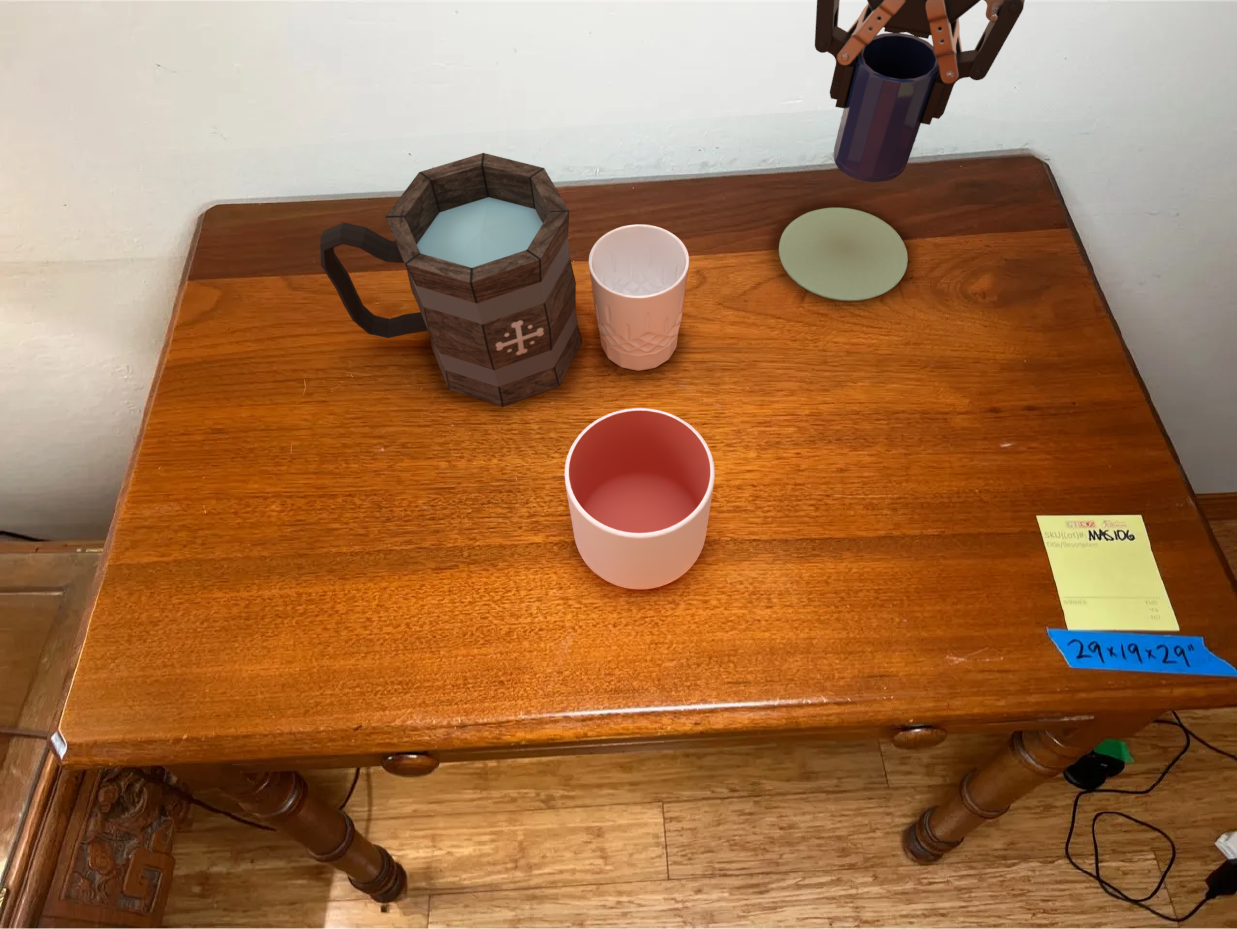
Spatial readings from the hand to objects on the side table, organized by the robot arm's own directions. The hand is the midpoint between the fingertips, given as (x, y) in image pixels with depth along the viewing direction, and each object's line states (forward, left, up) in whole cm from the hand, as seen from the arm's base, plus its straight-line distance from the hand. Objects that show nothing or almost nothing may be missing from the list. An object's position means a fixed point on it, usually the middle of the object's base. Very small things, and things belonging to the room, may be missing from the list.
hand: (884, 109), depth 64 cm
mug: (+29, +21, -16) cm, 39 cm away
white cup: (+15, +16, -16) cm, 27 cm away
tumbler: (0, 0, -5) cm, 5 cm away
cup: (+9, +34, -16) cm, 39 cm away
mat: (0, 0, -15) cm, 15 cm away
